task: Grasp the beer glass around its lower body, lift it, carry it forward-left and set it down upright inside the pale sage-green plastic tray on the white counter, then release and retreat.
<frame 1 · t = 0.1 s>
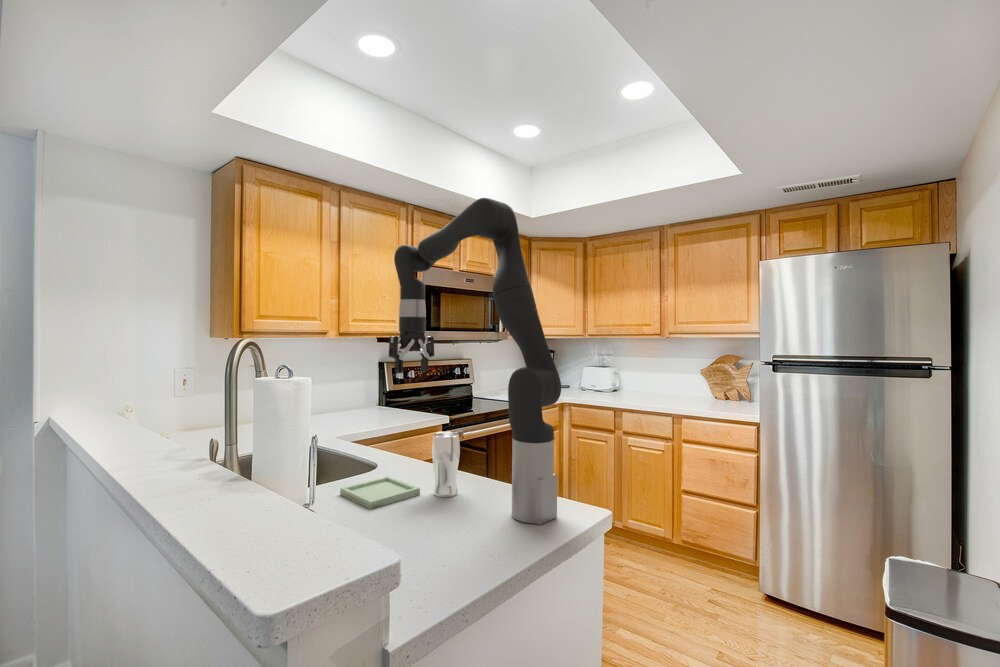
hand: (412, 372, 136), 29 cm above the worktop, fingers open, 8 cm apart
tray: (380, 494, 119), on the worktop
beer glass: (445, 494, 120), on the worktop
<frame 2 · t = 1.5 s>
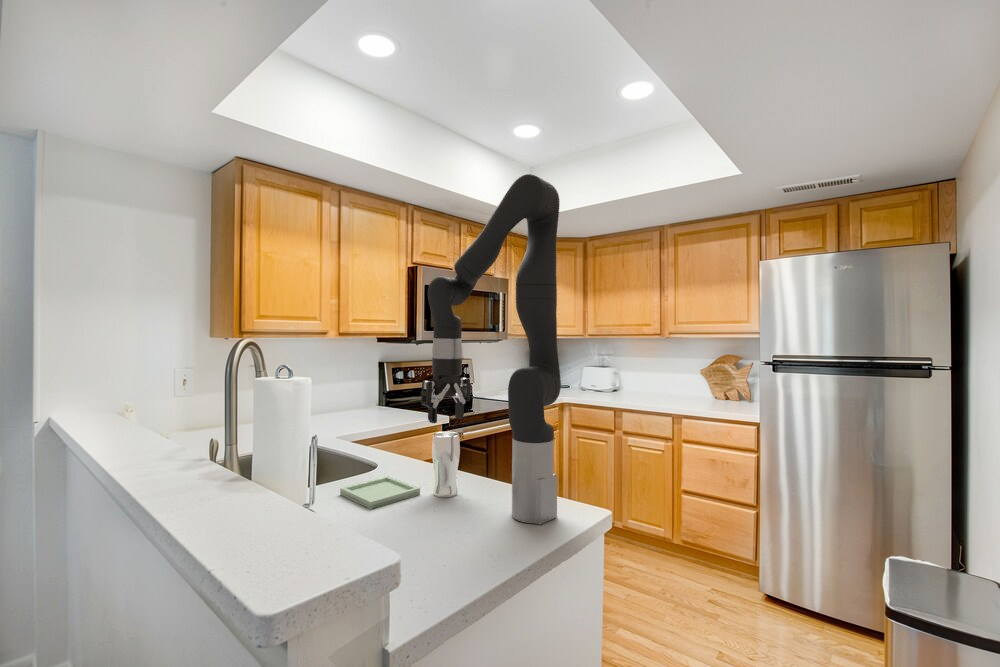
hand: (446, 420, 120), 18 cm above the worktop, fingers open, 8 cm apart
nothing on the worktop moved.
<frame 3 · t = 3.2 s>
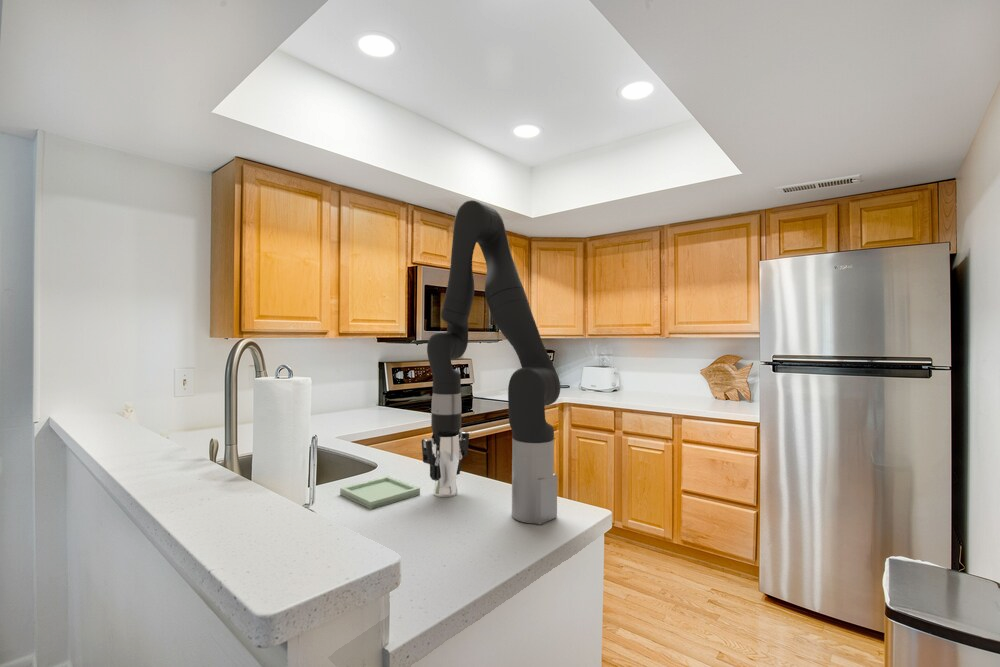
hand: (445, 476, 120), 4 cm above the worktop, fingers closed on beer glass, 6 cm apart
beer glass: (445, 494, 120), on the worktop, touching gripper
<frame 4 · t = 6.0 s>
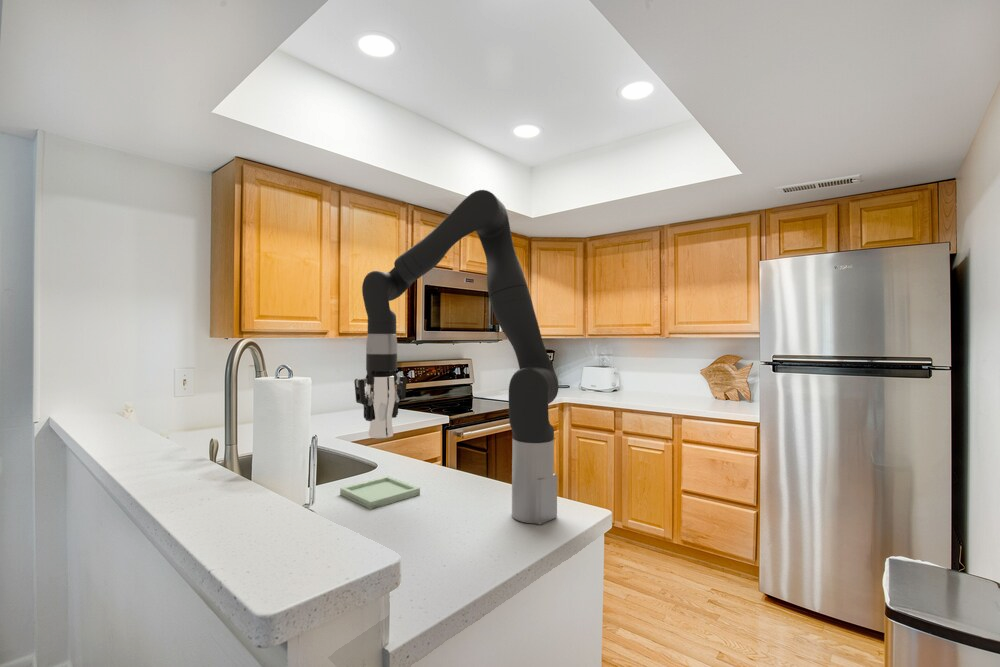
hand: (381, 418, 119), 19 cm above the worktop, fingers closed on beer glass, 6 cm apart
beer glass: (381, 436, 119), point 15 cm above the worktop, touching gripper
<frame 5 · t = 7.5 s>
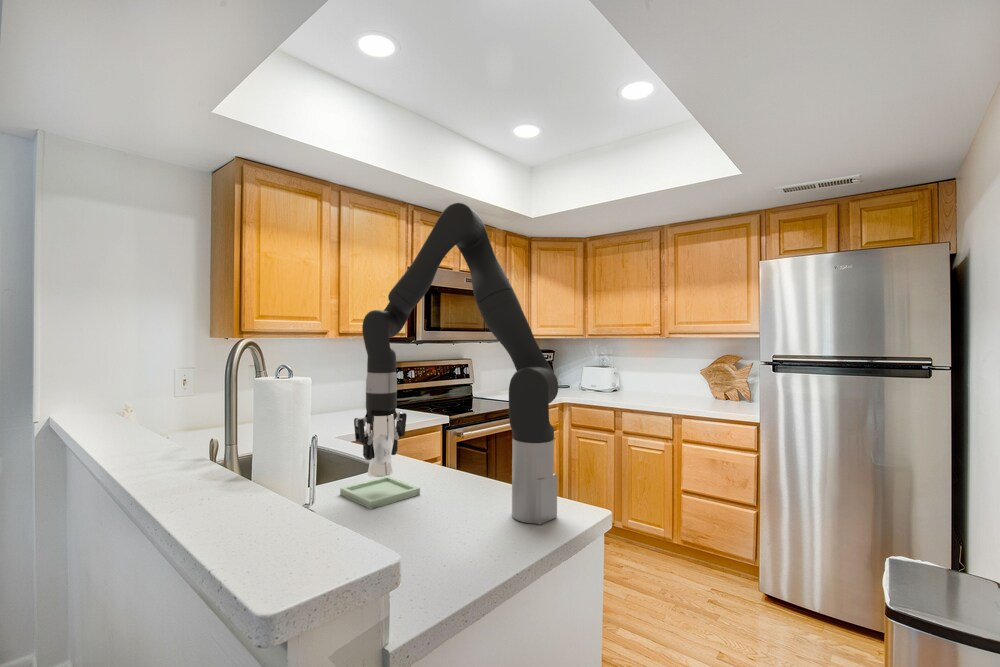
hand: (380, 456, 119), 9 cm above the worktop, fingers closed on beer glass, 6 cm apart
beer glass: (380, 474, 119), point 5 cm above the worktop, touching gripper
when the fingers open (7 cm above the worktop, at t = 8.7 s): beer glass drops 1 cm, resting on tray.
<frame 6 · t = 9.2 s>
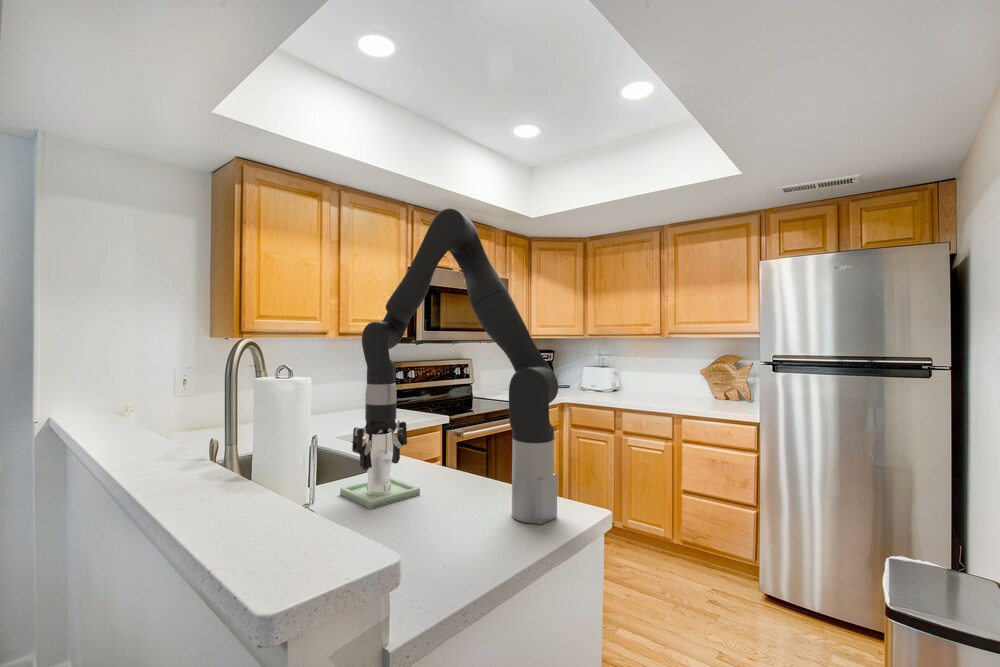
hand: (380, 466, 119), 7 cm above the worktop, fingers open, 8 cm apart
beer glass: (378, 492, 118), point 1 cm above the worktop, touching tray
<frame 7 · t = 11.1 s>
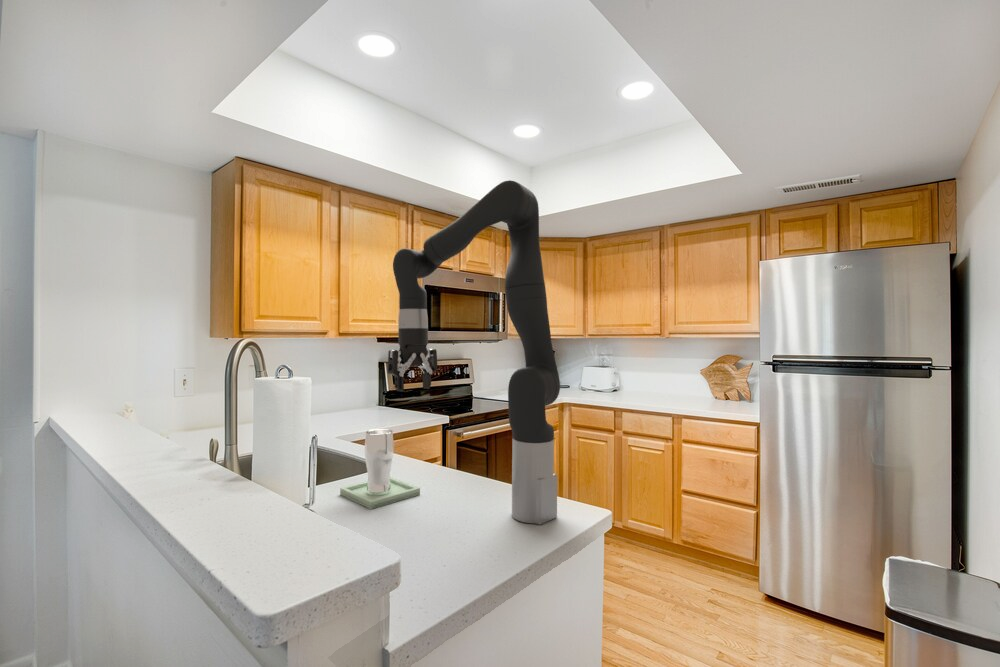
hand: (413, 389, 123), 26 cm above the worktop, fingers open, 8 cm apart
nothing on the worktop moved.
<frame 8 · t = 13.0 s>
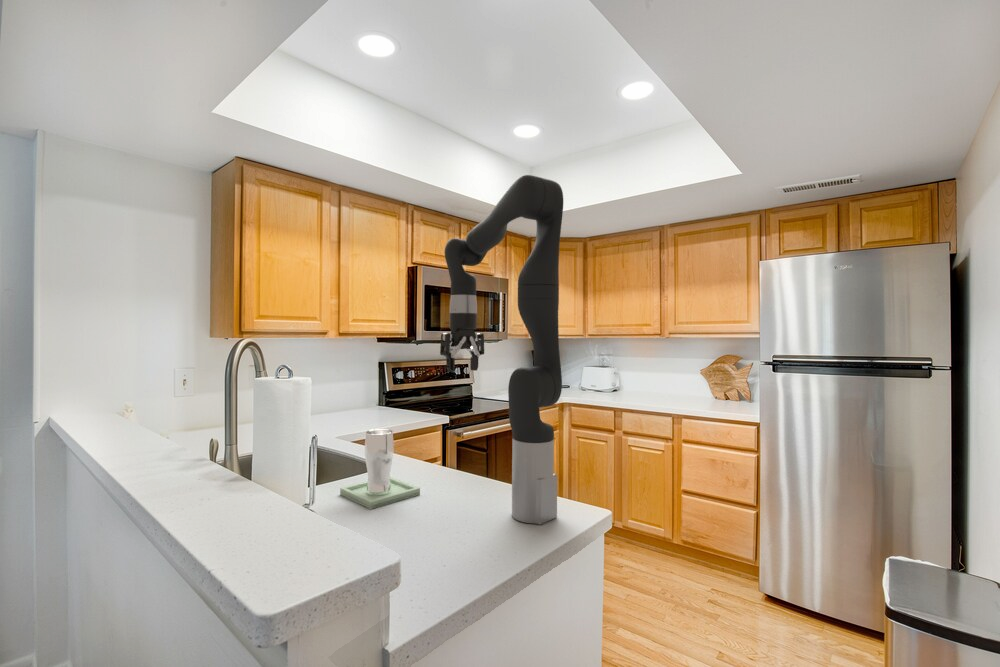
hand: (462, 371, 131), 30 cm above the worktop, fingers open, 8 cm apart
nothing on the worktop moved.
at the end: beer glass inside the target area on the tray (0.5 cm from its centre), point 0.6 cm above the tray's base; beer glass tilted 0°; the gripper is holding nothing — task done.
